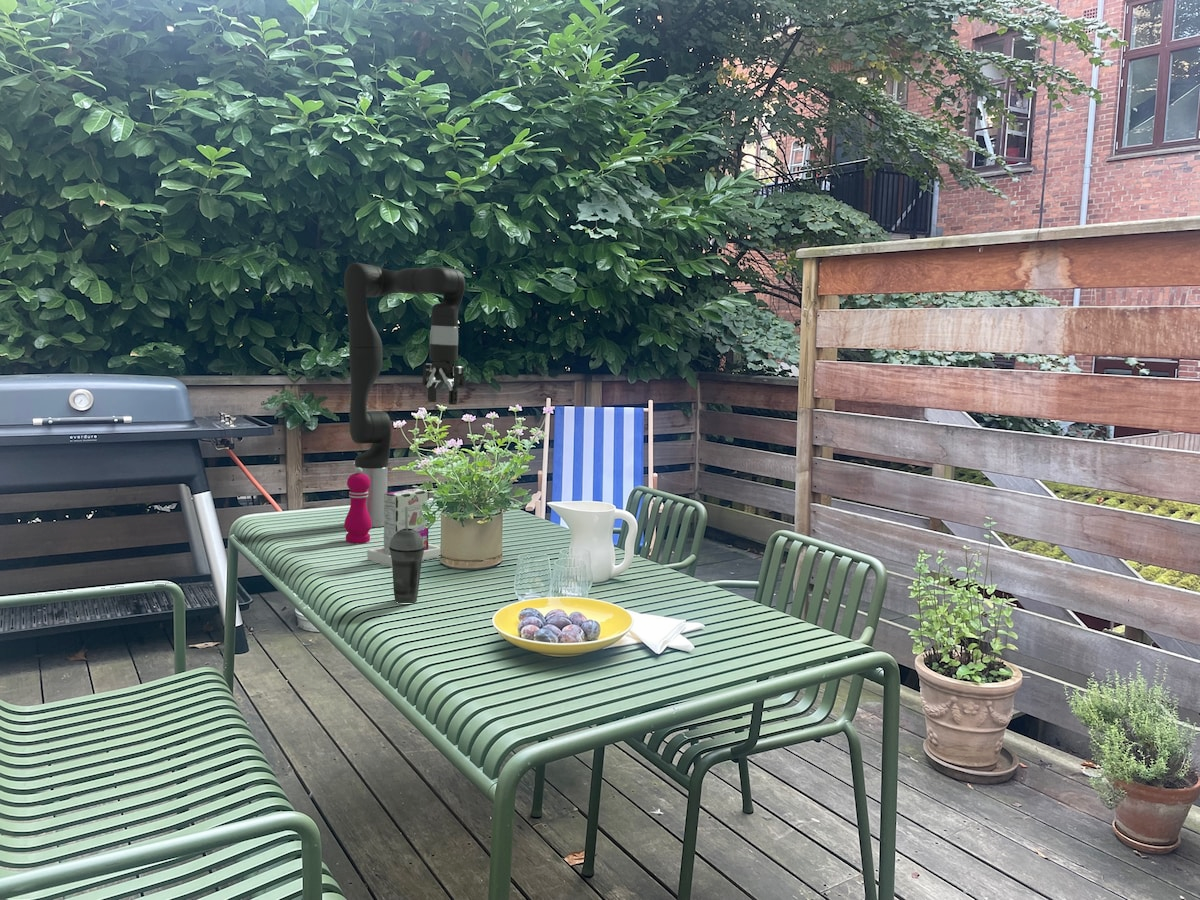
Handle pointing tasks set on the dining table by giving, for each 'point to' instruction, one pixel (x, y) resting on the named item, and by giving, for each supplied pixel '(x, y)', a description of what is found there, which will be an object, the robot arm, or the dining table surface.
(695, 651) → the dining table surface
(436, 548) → the tray
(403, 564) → the beverage cup
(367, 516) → the pepper mill
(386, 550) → the candy bar box
